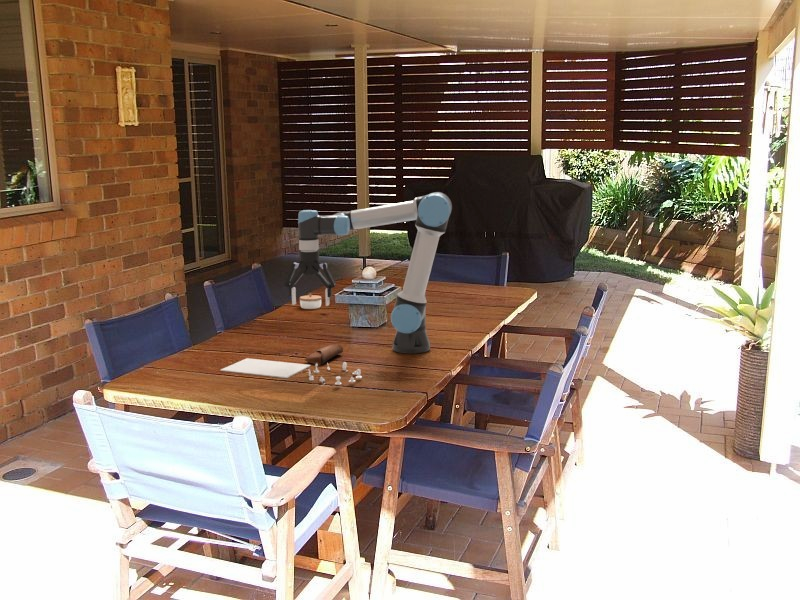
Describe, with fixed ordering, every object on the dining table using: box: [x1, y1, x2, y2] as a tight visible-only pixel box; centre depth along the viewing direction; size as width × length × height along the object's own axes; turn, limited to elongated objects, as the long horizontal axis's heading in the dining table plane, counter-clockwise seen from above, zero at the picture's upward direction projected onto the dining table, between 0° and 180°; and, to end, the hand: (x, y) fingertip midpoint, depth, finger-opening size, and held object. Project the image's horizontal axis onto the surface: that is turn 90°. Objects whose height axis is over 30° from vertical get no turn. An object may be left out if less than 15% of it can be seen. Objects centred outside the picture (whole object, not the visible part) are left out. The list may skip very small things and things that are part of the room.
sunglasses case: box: [304, 344, 344, 366], centre depth 325 cm, size 18×7×7 cm
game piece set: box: [307, 361, 363, 386], centre depth 302 cm, size 19×20×4 cm
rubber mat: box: [220, 357, 312, 379], centre depth 313 cm, size 28×18×1 cm, turn 68°
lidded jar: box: [299, 293, 322, 310], centre depth 414 cm, size 11×11×9 cm
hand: (310, 304), depth 327 cm, fingers open, 13 cm apart
